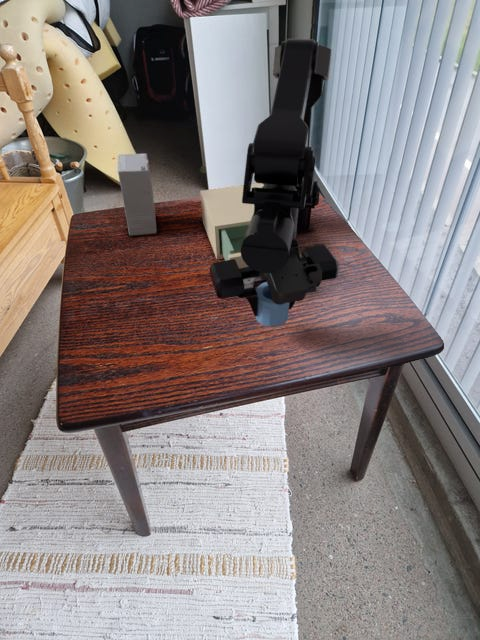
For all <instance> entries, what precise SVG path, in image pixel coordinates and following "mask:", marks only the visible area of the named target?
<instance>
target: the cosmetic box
mask: <svg viewBox="0 0 480 640" xmlns="http://www.w3.org/2000/svg"><path fill="white" fill-rule="evenodd" d="M148 158H149V157H148V154H147V153H124V154H118V155H117V174H118V178H119V179H118V180H119V184H120V190H121V196H122V202H123V206H124V208H123V209H124V212H125V218H126V224H127V225H126V226H127V229H128V235H129V236H130V237H131V236H142V235H152V234H157V220H156V210H155V209H156V208H155V200H154V190H153V183H152V177H151V171H150V165H149V163H150V162H149V159H148Z"/></svg>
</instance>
